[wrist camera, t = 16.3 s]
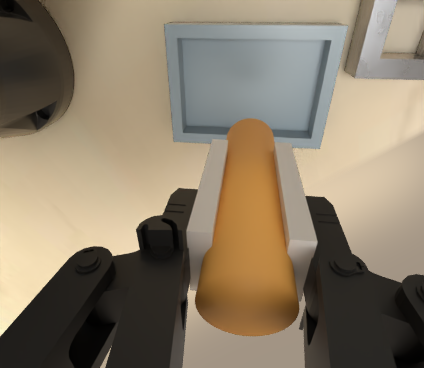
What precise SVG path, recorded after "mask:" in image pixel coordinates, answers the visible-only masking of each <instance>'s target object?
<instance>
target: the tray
mask: <svg viewBox="0 0 424 368" xmlns="http://www.w3.org/2000/svg"><path fill="white" fill-rule="evenodd" d="M164 28H165V41H166V53H167V65H168V78H169V90H170V102H171V114H172V127H173V139H174V142H190V143H210V144H211V143H212V139H219V140H226V138H227V134H228V132H229V130H230V128H231V127H232V126H233V125H234V124H235V123H236V122H238V121H240V120H243V119H247V118H254V119H258V120H261V121H263V122H265V123H266V124H267V125H268V126H269V127H270V129H271V130H272V132H273V136H274V142H280V143H291V145H292V148H311V149H320V146H321V142H322V137H323V133H324V129H325V124H326V120H327V116H328V111H329V107H330V103H331V98H332V94H333V90H334V85H335V81H336V77H337V72H338V68H339V64H340V59H341V55H342V51H343V46H344V42H345V38H346V33H347V29H348V26H347V25H344V24H340V23H214V22H170V23H167V24H164Z"/></svg>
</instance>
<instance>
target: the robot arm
mask: <svg viewBox="0 0 424 368" xmlns="http://www.w3.org/2000/svg"><path fill="white" fill-rule="evenodd" d="M73 87H74V75H73V67H72V62H71V58H70V54H69V51H68V48H67V46H66V43H65V41H64V39H63V37H62V34H61V33H60V31H59V29H58V27H57V25H56V24H55V22H54V21H53V19H52V18H51V16H50V15H49V13H48V12H47V11H46V10H45V8H44V7H43V6H42V5H41V4H40V2H39V1H38V0H0V138H7V137H15V136H23V135H28V134H32V133H35V132H38V131H40V130H42V129H44V128H45V127H47V126H49V125H50V124H52V123H54V122H55V121H57V120H58V119H59V118H60V117H61V116H62V115H63V114H64V113H65V111H66V110H67V108H68V106H69V104H70V101H71V98H72V94H73ZM227 152H228V140H219V139H212V143H211V146H210V150H209V153H208V157H207V160H206V164H205V167H204V171H203V174H202V178H201V181H200V185H199V188H198V190H197V189H183V188H179V189H177V190H176V191H175V192H174V193H173V194H172V195H171V196H170V198H169V201H168V203H167V206H166V208H165V211H164V213H163V215H160V216H153V217H151V218H148V219H146V220H144V221H143V222H142V223H140V224H139V226H138V228H137V229H136V232H137V237H138V242H139V247H140V250H138V251H136V252H133V253H129V254H123V255H117V256H112V254H111V252H110V251H109V250H108V249H106V248H103V247H95V246H93V247H89V248H85V249H83V250H80V251H78V252H76V253H75V254H74V255H73V256H72V257H70V258H69V259H68V260H67V262H66V263H65V264H64V265H63V266H62V267H61V268H60V269H59V271H58V272H57V273H56V274H55V275H54V276H53V277H52V279H51V280H50V281H49V282H48V283H47V284H46V285H45V286H44V288H43V289H42V290H41V291H40V292H39V293H38V294H37V296H36V297H35V298H34V299H33V300H32V301H31V302H30V304H29V305H28V306H27V307H26V308H25V309H24V310H23V311H22V313H21V314H20V315H19V316H18V317H17V318H16V319H15V321H14V322H13V323H12V324H11V325H10V326H9V327H8V329H7V330H6V331H5V332H4V333H3V334H2V335H1V336H0V368H100V366H101V365H102V363H103V361H104V359H105V357H106V355H107V353H108V352H109V349H110V348H111V350H110V354H109V357H108V360H107V364H106V367H105V368H182V365H183V364H182V363H183V353H184V342H185V330H186V318H187V306H188V300H187V292H188V288H189V284H190V290H195V291H197V287H198V282H199V276H200V271H201V266H202V261H203V258H204V255H205V253H206V252H207V251H208V250H209V249H210V248H211V247H212V243H213V237H214V231H215V225H216V219H217V213H218V207H219V201H220V195H221V189H222V183H223V177H224V171H225V164H226V158H227ZM273 154H274V161H275V168H276V176H277V183H278V190H279V198H280V205H281V212H282V219H283V227H284V234H285V241H286V249H287V254H288V255H289V257H290V258H291V260H292V263H293V268H294V275H295V282H296V288H297V295H298V301H301V299H302V296H303V292H304V296H305V302H306V306H305V309H304V312H303V316H302V319H301V322H300V327H299V329H300V330H303V327H304V352H305V368H424V275H417V274H415V275H410V276H407V277H406V278H405V279H404V280H403V281H402V283H400V282H397V281H394V280H391V279H388V278H385V277H382V276H379V275H377V274H374V273H372V272H370V271H369V270H368V268H367V266H366V265H365V263H364V262H363V261H362V260H361V259H360V258H359V257H357V256H355V255H353V254H352V253H351V250H350V247H349V245H348V242H347V240H346V237H345V235H344V232H343V230H342V227H341V225H340V222H339V220H338V217H337V214H336V212H335V210H334V207H333V205H332V204H331V203H330V202H329V201H328V200H327V199H326V198H325V197H313V196H305V193H304V190H303V186H302V182H301V178H300V175H299V171H298V167H297V164H296V160H295V156H294V153H293V149H292V145H291V143H280V142H275V144H274V151H273ZM111 346H112V347H111Z"/></svg>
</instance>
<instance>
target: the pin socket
mask: <svg viewBox="0 0 424 368" xmlns="http://www.w3.org/2000/svg"><path fill="white" fill-rule="evenodd" d="M396 4H397V0H362V1H361V5H360V9H359V13H358V17H357V21H356V25H355V29H354V34H353V38H352V42H351V46H350V50H349V54H348V58H347V62H346V66H345V71H346V72H347V73H348V74H350V75H351V76H352V77H354V78H366V79H406V80H424V32H423V35H422V37H421V40H420V43H419V46H418V49H417V51H416V54H414V53H382V50H383V47H384V44H385V40H386V37H387V34H388V30H389V27H390V24H391V20H392V17H393V14H394V10H395V7H396Z"/></svg>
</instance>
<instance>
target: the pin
mask: <svg viewBox="0 0 424 368" xmlns="http://www.w3.org/2000/svg"><path fill="white" fill-rule="evenodd" d="M226 140H228V152H227V158H226V164H225V171H224V177H223V183H222V189H221V195H220V201H219V207H218V213H217V219H216V225H215V231H214V237H213V243H212V247H211V248H210V249H209V250H208V251H207V252H206V253H205V255H204V258H203V261H202V266H201V271H200V276H199V282H198V287H197V292H196V297H195V304H196V308H197V310H198V312H199V314H200V315H201V316H202V318H203V319H205V320H206V321H207V322H208V323H209V324H211V325H212V326H214V327H216V328H218V329H220V330H222V331H225V332H228V333H232V334H236V335H242V336H263V335H270V334H273V333H276V332H279V331H281V330H284V329H285V328H287V327H289V326H290V325H291V324H292V323H293V322H294V321H295V320H296V318H297V316H298V313H299V301H298V295H297V288H296V282H295V275H294V268H293V263H292V260H291V258H290V257H289V255H288V254H287V249H286V241H285V234H284V227H283V219H282V212H281V205H280V198H279V190H278V183H277V176H276V168H275V161H274V154H273V151H274V144H275V142H274V136H273V132H272V130H271V129H270V127H269V126H268V125H267V124H266V123H265V122H263V121H261V120H258V119H254V118H247V119H243V120H240V121H238V122H236V123H235V124H234V125H233V126H232V127H231V128H230V130H229V132H228V134H227V138H226Z"/></svg>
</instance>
